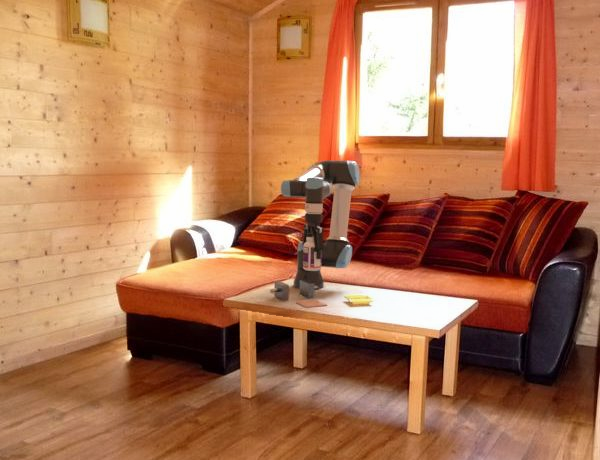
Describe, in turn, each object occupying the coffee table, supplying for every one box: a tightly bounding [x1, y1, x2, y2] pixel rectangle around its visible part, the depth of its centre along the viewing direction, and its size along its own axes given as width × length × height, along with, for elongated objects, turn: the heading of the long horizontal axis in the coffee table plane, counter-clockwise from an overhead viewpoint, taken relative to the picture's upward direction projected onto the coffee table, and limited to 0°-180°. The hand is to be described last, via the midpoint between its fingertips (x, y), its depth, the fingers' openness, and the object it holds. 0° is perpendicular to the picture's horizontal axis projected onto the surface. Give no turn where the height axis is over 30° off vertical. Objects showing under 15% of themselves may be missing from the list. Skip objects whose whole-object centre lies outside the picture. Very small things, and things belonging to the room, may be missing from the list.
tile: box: [295, 299, 328, 309], centre depth 281 cm, size 10×10×1 cm
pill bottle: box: [303, 237, 322, 271], centre depth 279 cm, size 8×8×14 cm
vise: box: [269, 280, 318, 302], centre depth 294 cm, size 24×9×7 cm, turn 117°
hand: (312, 264), depth 279 cm, fingers closed on pill bottle, 8 cm apart
